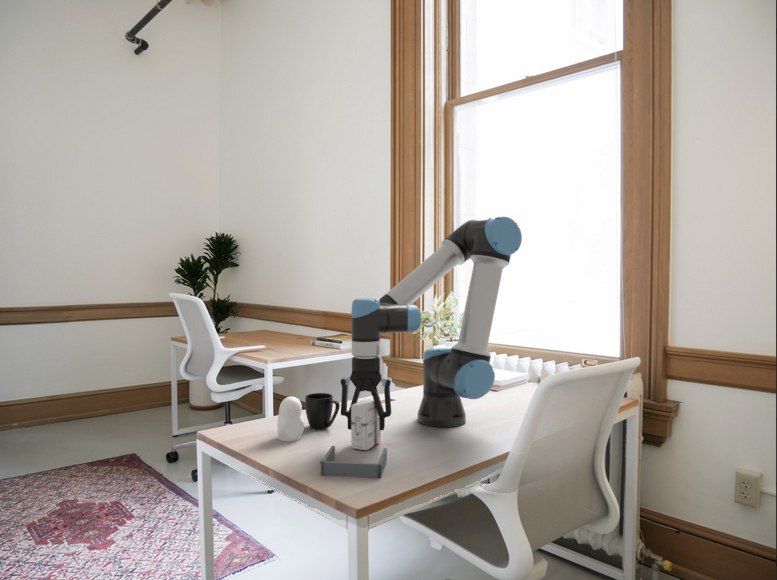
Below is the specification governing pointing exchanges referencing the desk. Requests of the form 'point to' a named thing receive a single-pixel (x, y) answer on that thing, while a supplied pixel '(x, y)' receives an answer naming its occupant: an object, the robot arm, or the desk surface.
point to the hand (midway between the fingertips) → (366, 441)
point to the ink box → (364, 424)
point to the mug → (320, 410)
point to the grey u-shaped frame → (352, 466)
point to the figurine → (290, 420)
